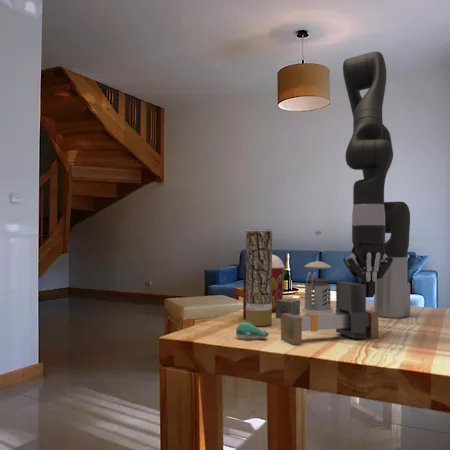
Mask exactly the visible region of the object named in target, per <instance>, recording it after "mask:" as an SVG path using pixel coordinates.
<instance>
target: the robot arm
mask: <svg viewBox="0 0 450 450" xmlns="http://www.w3.org/2000/svg"><path fill="white" fill-rule="evenodd" d="M342 74H343V75H342V76H343V80H344V84H345V89H346V93H347V97H348V100H349V101H348V102H349V105H350V110H351V113H352V118H353V125H352V126H353V128H352V129H353V131H352V135H351V138H350V140H349V143H348V145H347V148H346V149H345V150H346V152H345V155H344V156H345V162H346V165H347V166H348V167H349V168H350V169H352V170H355V171H360V170H361V171H362V176H363V179H359V180H357V181H355V182H354V183H353V189H352V190H353V191H352V192H353V193H352V195H353V197H352V198H353V199H352V204H353V205H352V213H351V242H352V244H353V245H352V248H351V253H350V254H349V256H347V257H343V259H342V262H343V263H344V265H345V266H346V268H347V269H348V270H349V272H350V273H351V275H352V276H353V278H354V279H356V280H360V282H361V284H365V285H366V299H367V298H368V299H369V298H373V300H374V301H373V312H377V313H378V317H382V318H391V319H394V318H395V319H400V318H401V319H402V318H407V317H411V283H410V282H408V252H409V248H410V247H409V246H410V231H411V227H410V226H411V212H410V207H409V206H408V204H407V203H406V202H405V201H385V185H386V178H387V175H388V172H389V171H390V168H391V166H392V163H393V159H394V150H393V144H392V143H393V142H392V137H391V133H390V131H389V130H388V128H387V126H385V124H384V123H383V104H384V99H385V92H386V85H387V65H386V61H385V57H384V56H383V54H382V52H381V51H370V52H367V53H363V54H360V55H356V56H353V57H349V58H347V59H344V61H343V64H342ZM363 90H367V92H365V94H364V95H363V97H362V95H361V91H363ZM386 234H390V237H389V239H388V240H387V241H386Z"/></svg>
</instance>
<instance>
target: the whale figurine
mask: <svg viewBox="0 0 450 450" xmlns="http://www.w3.org/2000/svg"><path fill="white" fill-rule="evenodd" d="M236 327H237V328H236V330H235V335H236V337H237V339H239V340H243V341H247V340H249V341H252V340H253V341H254V340H261V339H266V338H267V337H268V336H269V335H270V334H269V332H268V331H266V330H261V328H258V326H254V325H252V324H251V323H249V322H246V321H243V322H241V323H238V325H237V326H236Z"/></svg>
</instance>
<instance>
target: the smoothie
mask: <svg viewBox="0 0 450 450" xmlns="http://www.w3.org/2000/svg"><path fill="white" fill-rule="evenodd" d="M285 268H286V266H285V265H284V263H283V261H282V259H281V258H280V256H278V255H275V254H272V313H276V300H280V299H284V284H285V283H284V282H285Z"/></svg>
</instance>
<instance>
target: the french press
mask: <svg viewBox="0 0 450 450" xmlns="http://www.w3.org/2000/svg"><path fill="white" fill-rule="evenodd" d="M321 233H322V231H321V230H320V229H316V230H315V231H314V234H317V235H320V234H321ZM304 268H305V269H309V270H311V269H313V270H317V272H315V271H314V272H313V274H312V273H311V271H309V272H308V273H307V275H306V276H307V277H306V278H305V281H306V283H305V284H304V308H302V309H300V312H303V313H305V314H308V313H310V314H325V313H335V312H334V310H333V309H332V306H331V288H332V287H331V284H329V283H328V282H330V279H329V278H323V277H322V278H319V270H325V269H330V268H332V266H331V265H329V264H328V263H326V262H323V261H320V260H319V254H317V259H316V261H311V262H309V263H307V264H305V265H304ZM309 277H310V278H309ZM315 277H316V278H315ZM308 282H310V283H308Z"/></svg>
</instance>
